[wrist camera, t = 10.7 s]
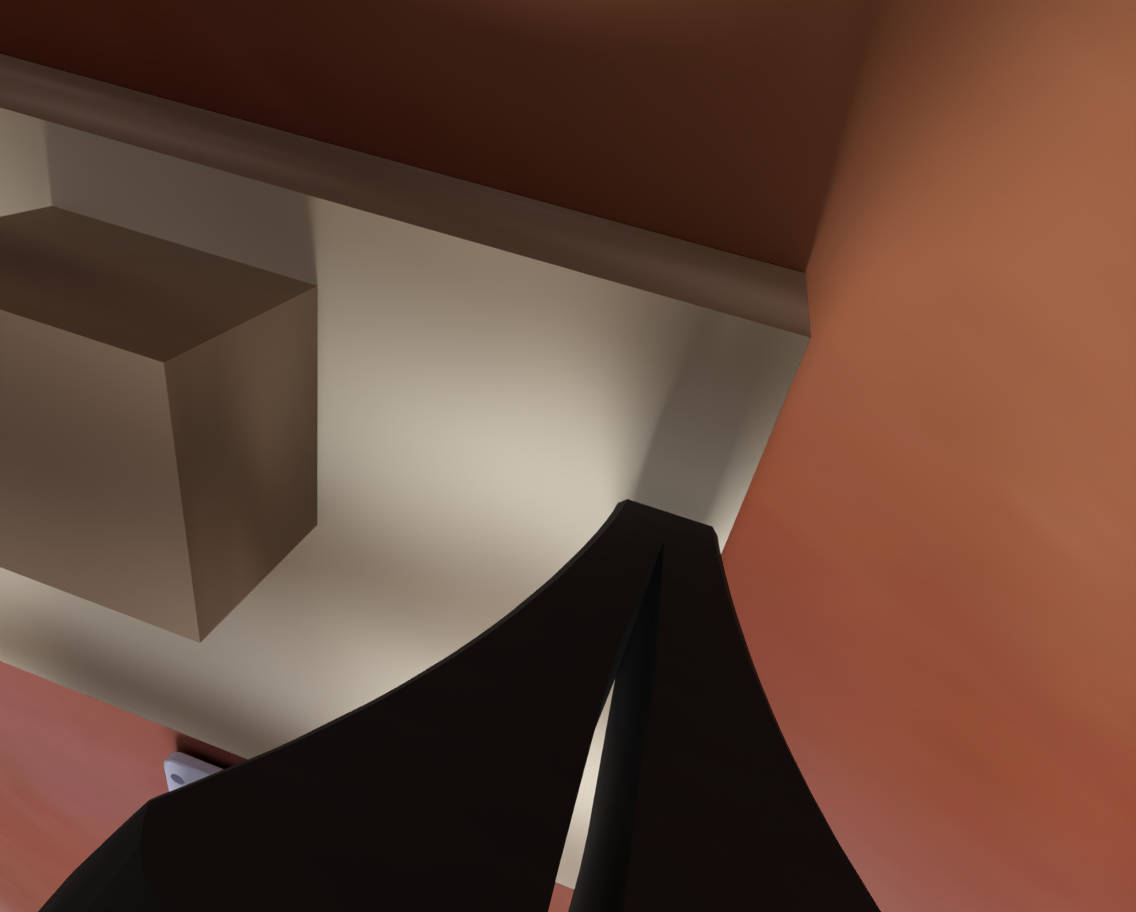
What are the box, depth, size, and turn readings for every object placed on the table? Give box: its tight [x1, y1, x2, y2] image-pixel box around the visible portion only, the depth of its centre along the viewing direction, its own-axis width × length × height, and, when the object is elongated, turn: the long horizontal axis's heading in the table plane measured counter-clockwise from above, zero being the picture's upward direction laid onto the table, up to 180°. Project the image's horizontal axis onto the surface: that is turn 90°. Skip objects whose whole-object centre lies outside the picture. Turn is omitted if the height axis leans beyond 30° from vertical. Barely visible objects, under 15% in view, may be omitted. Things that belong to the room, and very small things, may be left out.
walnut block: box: [0, 206, 318, 643], centre depth 10 cm, size 4×4×3 cm
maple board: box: [0, 54, 811, 889], centre depth 15 cm, size 14×16×3 cm
